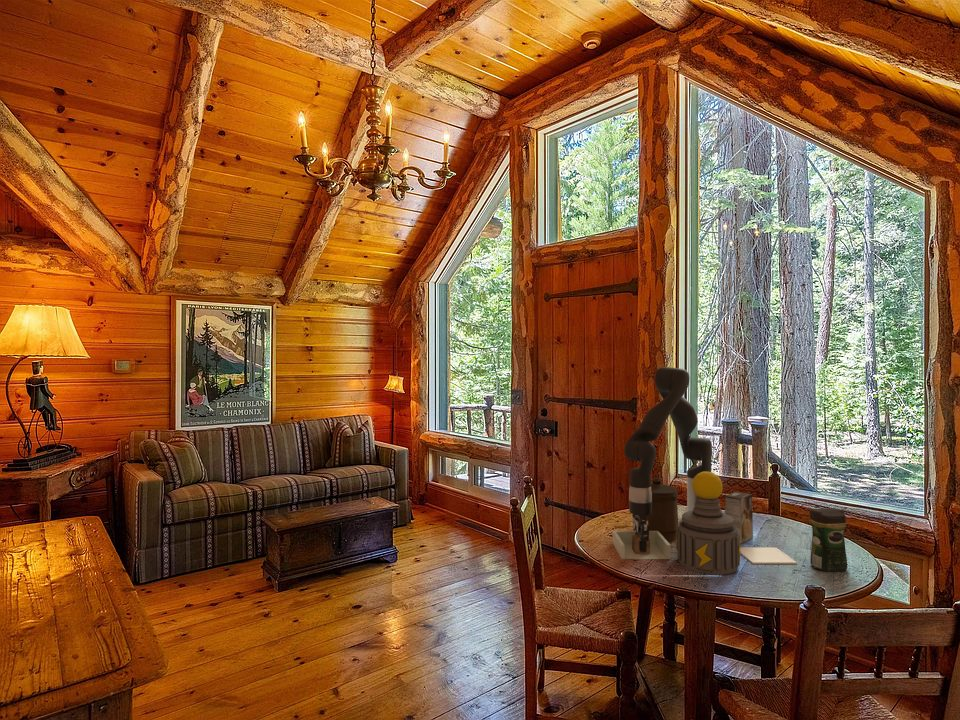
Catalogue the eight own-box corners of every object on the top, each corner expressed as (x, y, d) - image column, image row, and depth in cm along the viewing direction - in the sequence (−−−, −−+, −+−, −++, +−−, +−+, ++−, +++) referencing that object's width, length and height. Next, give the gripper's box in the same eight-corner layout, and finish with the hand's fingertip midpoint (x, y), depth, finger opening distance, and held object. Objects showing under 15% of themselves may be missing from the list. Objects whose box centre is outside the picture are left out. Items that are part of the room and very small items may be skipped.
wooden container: (672, 531, 215) (672, 473, 215) (682, 544, 201) (682, 482, 201) (633, 530, 217) (632, 473, 217) (640, 543, 202) (639, 482, 202)
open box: (612, 544, 201) (612, 530, 201) (658, 544, 200) (658, 530, 200) (621, 560, 186) (621, 545, 186) (670, 560, 185) (670, 545, 185)
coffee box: (735, 533, 211) (735, 491, 211) (753, 537, 206) (753, 494, 206) (724, 539, 205) (724, 495, 205) (742, 543, 200) (741, 498, 200)
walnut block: (631, 548, 195) (631, 534, 195) (646, 548, 195) (646, 534, 195) (635, 554, 190) (635, 539, 190) (650, 554, 190) (650, 539, 190)
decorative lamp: (737, 581, 168) (736, 480, 167) (671, 570, 177) (671, 474, 177) (742, 560, 184) (741, 468, 184) (682, 551, 193) (681, 464, 193)
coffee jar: (834, 562, 181) (834, 505, 181) (852, 572, 173) (851, 511, 173) (805, 563, 181) (804, 505, 181) (821, 573, 173) (821, 512, 173)
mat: (734, 548, 195) (734, 547, 195) (776, 549, 194) (776, 547, 194) (752, 563, 181) (752, 562, 181) (797, 564, 180) (797, 562, 180)
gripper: (657, 504, 185) (657, 556, 185) (646, 494, 199) (646, 542, 199) (634, 504, 185) (634, 556, 185) (624, 494, 199) (625, 542, 200)
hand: (640, 548), depth 192 cm, fingers closed on walnut block, 5 cm apart
